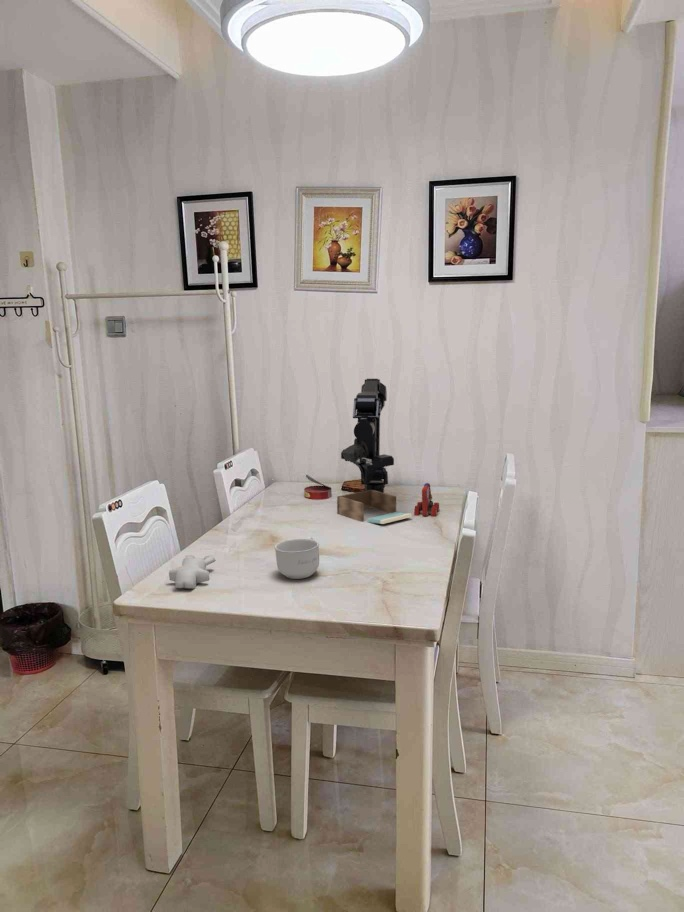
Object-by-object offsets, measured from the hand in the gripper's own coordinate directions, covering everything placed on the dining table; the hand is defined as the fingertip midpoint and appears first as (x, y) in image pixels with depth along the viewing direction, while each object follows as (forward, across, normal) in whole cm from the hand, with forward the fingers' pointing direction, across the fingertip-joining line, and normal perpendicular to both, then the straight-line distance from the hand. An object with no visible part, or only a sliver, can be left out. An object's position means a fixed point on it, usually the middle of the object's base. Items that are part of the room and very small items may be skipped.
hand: (366, 484), depth 212 cm
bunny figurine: (+11, +11, -67) cm, 69 cm away
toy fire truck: (+12, +10, +17) cm, 23 cm away
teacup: (+11, +24, -44) cm, 52 cm away
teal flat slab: (+10, +6, +1) cm, 12 cm away
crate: (+11, -1, +1) cm, 12 cm away
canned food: (+12, -34, +7) cm, 37 cm away
